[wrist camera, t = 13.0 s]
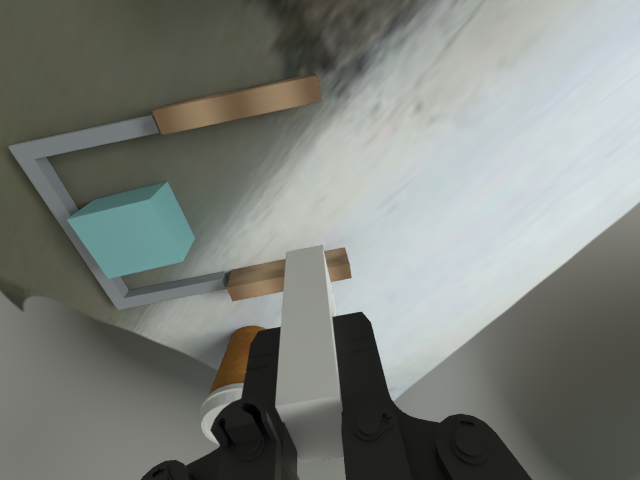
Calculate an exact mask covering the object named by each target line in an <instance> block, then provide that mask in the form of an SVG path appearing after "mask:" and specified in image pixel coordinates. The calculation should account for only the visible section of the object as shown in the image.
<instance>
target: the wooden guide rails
mask: <svg viewBox="0 0 640 480" xmlns="http://www.w3.org/2000/svg"><path fill="white" fill-rule="evenodd" d="M321 101H322V100H321V94H320V89H319V83H318V77H317V75H316V74H315V73H314V74H309V75H305V76H300V77H295V78H291V79H286V80H281V81H277V82H272V83H267V84H263V85H258V86H253V87H249V88H244V89H239V90H235V91H230V92H225V93H221V94H216V95H211V96H207V97H202V98H197V99H193V100H188V101H183V102H179V103H174V104H169V105H165V106H163V107H160V108H158V109H155V110H153V111H152V112H153V115H154V117H155V120H156V122H157V124H158V127H159V129H160V131H161V134H162V135H165V134H170V133H175V132H179V131H184V130H189V129H193V128H198V127H203V126H208V125H212V124H217V123H222V122H226V121H231V120H236V119H241V118H245V117H250V116H255V115H259V114H264V113H269V112H274V111H278V110H283V109H288V108H292V107H297V106H302V105H307V104H311V103H316V102H321ZM324 254H325V259H326V263H327V268H328V272H329V277H330V281H331V282H333V281H339V280H344V279H349V278H352V277H351V271H350V265H349V261H348V257H347V253H346V250H345V248H340V249H335V250H330V251H325V252H324ZM285 263H286V259H285V260H280V261H275V262H269V263H264V264H259V265H254V266H249V267H244V268H239V269H234V270H232V271H231V275H230V279H229V282H228V286H227V289H228V292H229V294H230V296H231V299H232V301H236V300H241V299H247V298H252V297H257V296H262V295H267V294H272V293H277V292H282V291H284V277H285Z"/></svg>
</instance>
